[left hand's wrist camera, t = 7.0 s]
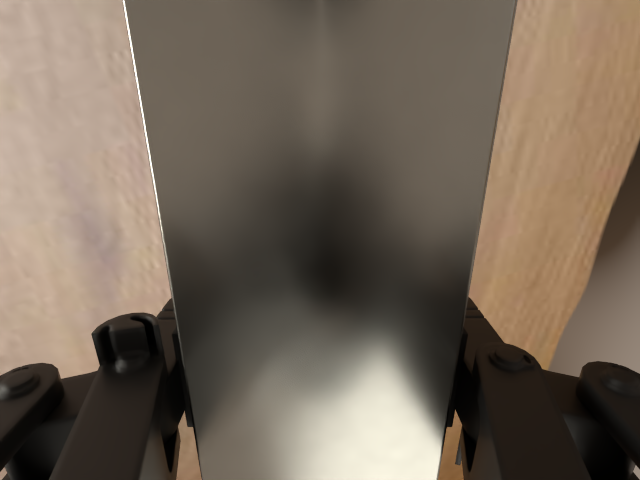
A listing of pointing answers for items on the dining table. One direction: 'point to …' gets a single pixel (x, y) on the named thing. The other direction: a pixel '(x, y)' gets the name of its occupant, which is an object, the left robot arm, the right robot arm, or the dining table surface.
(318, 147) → the bar
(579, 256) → the dining table surface
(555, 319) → the dining table surface
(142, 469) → the left robot arm
